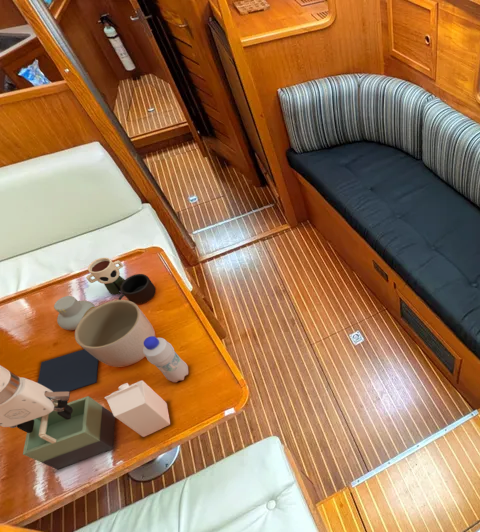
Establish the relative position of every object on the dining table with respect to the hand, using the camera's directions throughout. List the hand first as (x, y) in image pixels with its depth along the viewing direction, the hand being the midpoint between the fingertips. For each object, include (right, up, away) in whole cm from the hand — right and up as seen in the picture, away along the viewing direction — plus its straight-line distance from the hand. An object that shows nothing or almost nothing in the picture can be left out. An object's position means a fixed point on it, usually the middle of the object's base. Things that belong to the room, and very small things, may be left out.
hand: (50, 420), depth 96 cm
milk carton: (+16, -6, +16) cm, 23 cm away
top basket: (0, -6, +7) cm, 9 cm away
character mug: (-16, +29, +47) cm, 57 cm away
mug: (-7, +26, +44) cm, 51 cm away
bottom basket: (0, -10, +11) cm, 15 cm away
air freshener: (-23, +19, +38) cm, 48 cm away
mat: (-16, +5, +25) cm, 30 cm away
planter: (0, +11, +30) cm, 32 cm away
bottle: (+18, +4, +25) cm, 31 cm away
